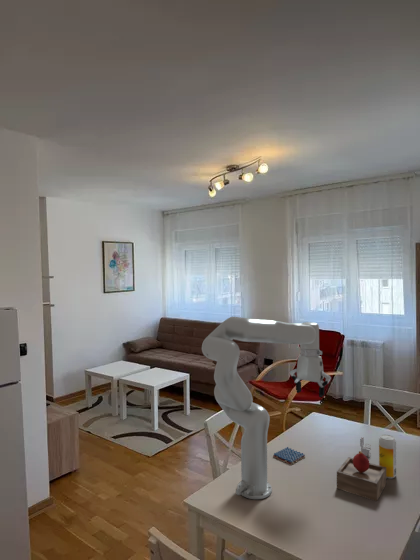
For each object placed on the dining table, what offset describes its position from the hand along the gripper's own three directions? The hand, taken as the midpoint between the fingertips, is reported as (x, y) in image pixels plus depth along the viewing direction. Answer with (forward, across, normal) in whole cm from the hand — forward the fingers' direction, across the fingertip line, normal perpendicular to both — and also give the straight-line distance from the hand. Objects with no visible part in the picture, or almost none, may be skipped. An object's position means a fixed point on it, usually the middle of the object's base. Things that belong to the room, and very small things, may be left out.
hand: (309, 394), depth 156 cm
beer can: (+30, -27, -12) cm, 42 cm away
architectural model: (+31, -17, -30) cm, 46 cm away
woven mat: (+31, +11, -3) cm, 33 cm away
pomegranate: (+25, -21, +2) cm, 33 cm away
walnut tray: (+30, -21, +2) cm, 37 cm away
